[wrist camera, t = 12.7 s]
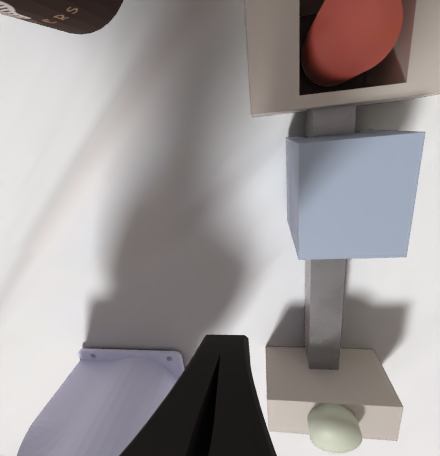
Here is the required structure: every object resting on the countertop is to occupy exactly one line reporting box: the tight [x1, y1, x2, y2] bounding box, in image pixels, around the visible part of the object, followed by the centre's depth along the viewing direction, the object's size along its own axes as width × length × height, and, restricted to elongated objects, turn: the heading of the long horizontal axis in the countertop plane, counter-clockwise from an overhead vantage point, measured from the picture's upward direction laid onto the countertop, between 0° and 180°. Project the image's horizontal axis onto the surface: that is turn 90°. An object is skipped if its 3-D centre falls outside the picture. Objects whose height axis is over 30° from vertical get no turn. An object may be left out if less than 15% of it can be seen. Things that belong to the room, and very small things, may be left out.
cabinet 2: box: [266, 347, 403, 453], centre depth 19 cm, size 8×3×6 cm, turn 96°
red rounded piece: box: [301, 0, 403, 86], centre depth 11 cm, size 3×3×4 cm
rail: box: [305, 105, 356, 370], centre depth 17 cm, size 2×17×2 cm, turn 6°
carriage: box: [286, 129, 425, 260], centre depth 13 cm, size 4×5×6 cm
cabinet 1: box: [245, 0, 440, 117], centre depth 12 cm, size 8×5×4 cm, turn 96°
